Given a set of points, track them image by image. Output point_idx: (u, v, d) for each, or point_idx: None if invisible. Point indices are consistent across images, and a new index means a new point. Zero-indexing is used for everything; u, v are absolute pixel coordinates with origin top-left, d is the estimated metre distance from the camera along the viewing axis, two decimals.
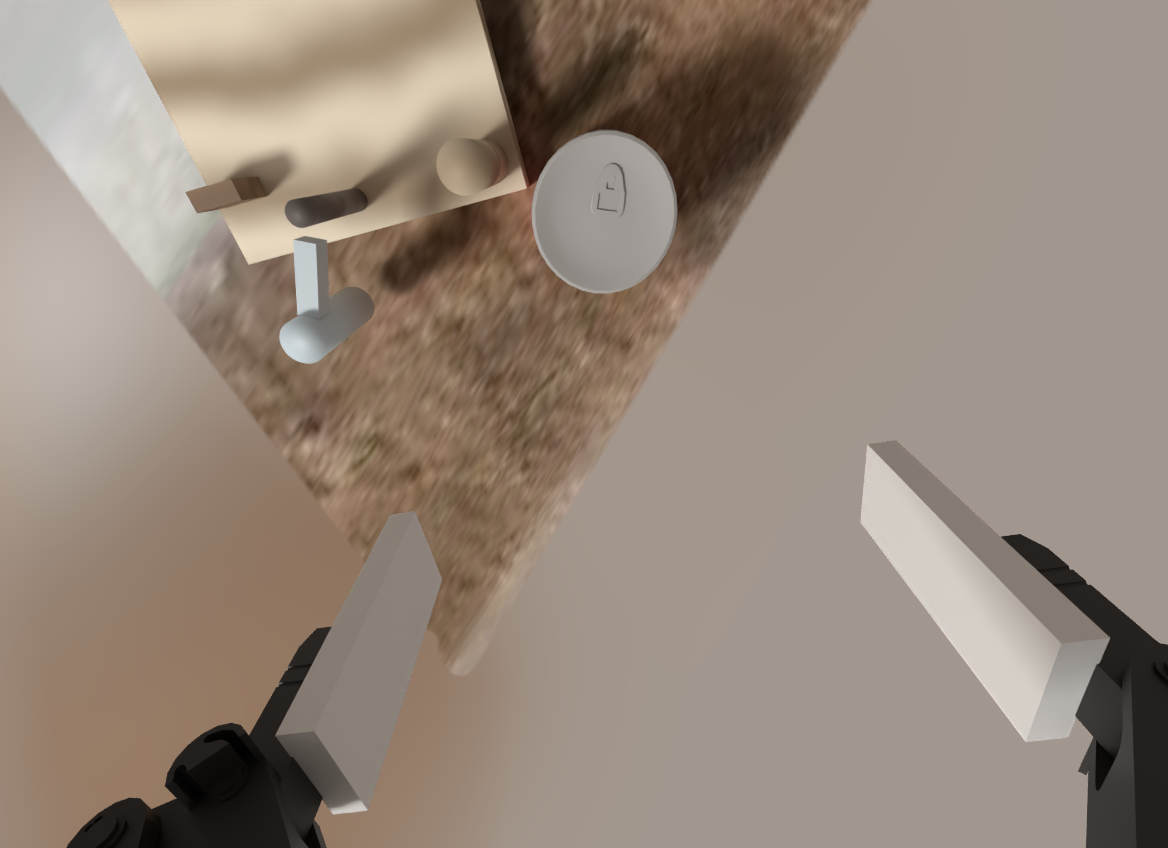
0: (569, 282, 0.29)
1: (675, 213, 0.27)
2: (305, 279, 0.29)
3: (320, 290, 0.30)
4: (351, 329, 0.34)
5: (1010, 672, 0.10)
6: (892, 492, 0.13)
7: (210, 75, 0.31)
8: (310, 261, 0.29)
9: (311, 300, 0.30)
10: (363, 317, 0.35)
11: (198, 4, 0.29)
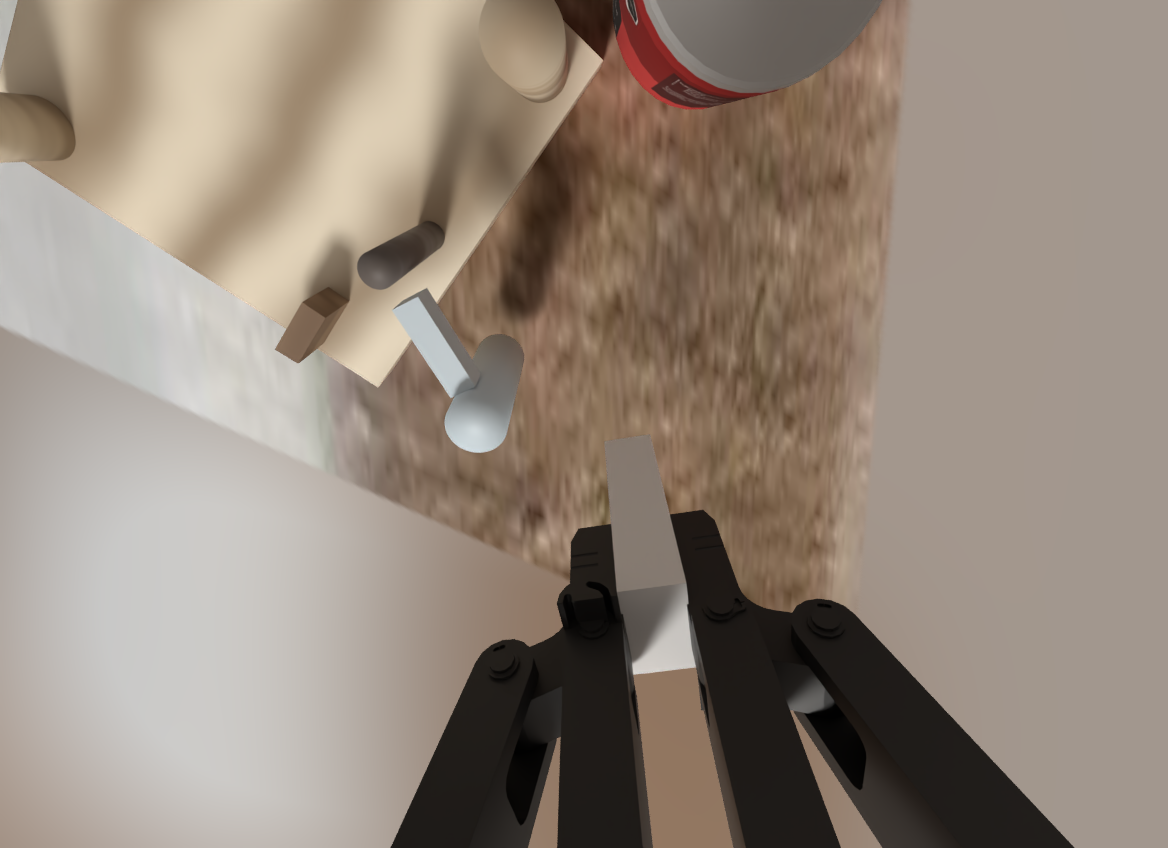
0: (769, 84, 0.16)
1: None
2: (433, 349, 0.21)
3: (456, 351, 0.21)
4: (514, 380, 0.25)
5: None
6: None
7: (223, 212, 0.25)
8: (425, 323, 0.21)
9: (454, 370, 0.21)
10: (517, 361, 0.27)
11: (166, 145, 0.24)
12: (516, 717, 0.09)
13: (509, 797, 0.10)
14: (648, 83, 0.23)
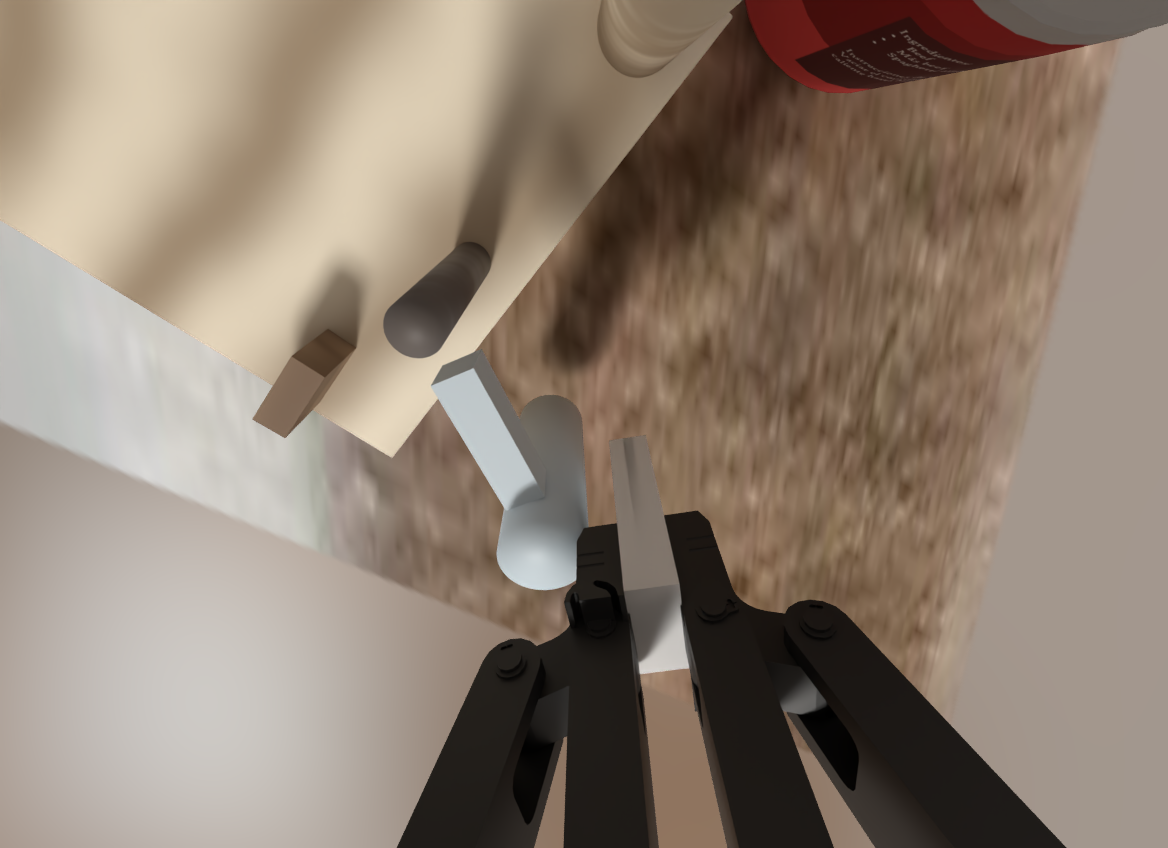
0: (1122, 26, 0.09)
1: None
2: (488, 444, 0.14)
3: (520, 445, 0.14)
4: (584, 471, 0.18)
5: None
6: None
7: (181, 227, 0.18)
8: (480, 406, 0.13)
9: (517, 473, 0.14)
10: (581, 437, 0.20)
11: (95, 130, 0.17)
12: (523, 716, 0.09)
13: (515, 796, 0.10)
14: (797, 51, 0.16)
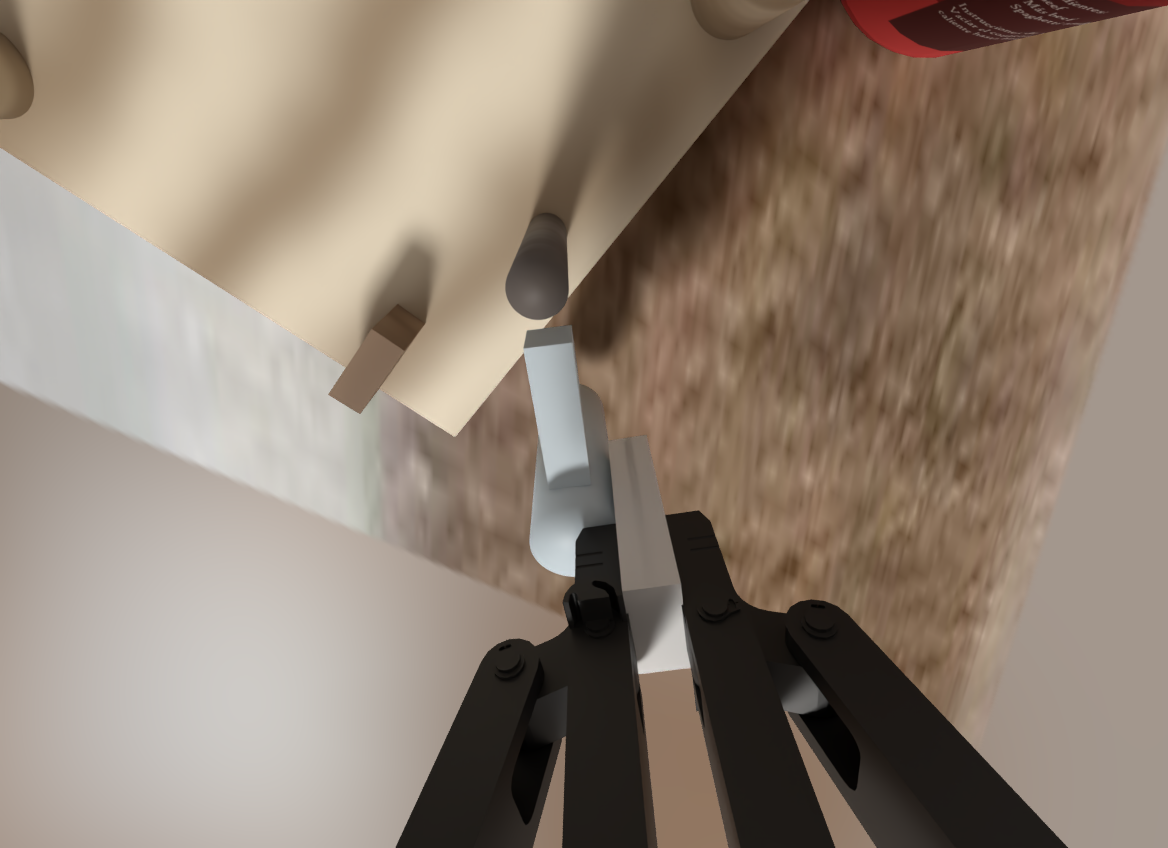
0: None
1: None
2: (557, 420, 0.14)
3: (584, 429, 0.14)
4: None
5: None
6: None
7: (253, 198, 0.18)
8: (564, 381, 0.13)
9: (573, 456, 0.14)
10: None
11: (171, 97, 0.16)
12: (522, 717, 0.09)
13: (514, 796, 0.10)
14: (894, 10, 0.16)
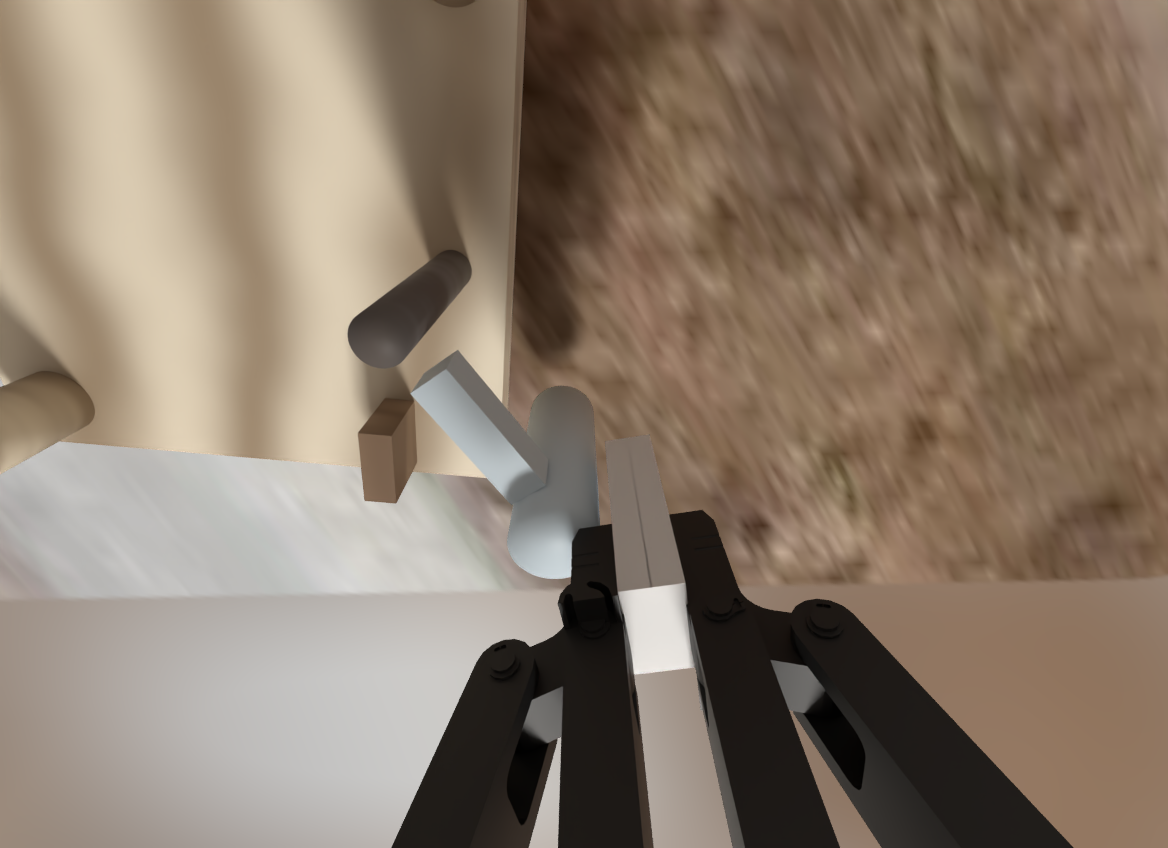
0: None
1: None
2: (478, 441, 0.14)
3: (512, 438, 0.14)
4: (593, 455, 0.18)
5: None
6: None
7: (244, 382, 0.21)
8: (461, 405, 0.13)
9: (513, 466, 0.14)
10: (589, 423, 0.19)
11: (156, 346, 0.20)
12: (517, 717, 0.09)
13: (510, 797, 0.10)
14: None
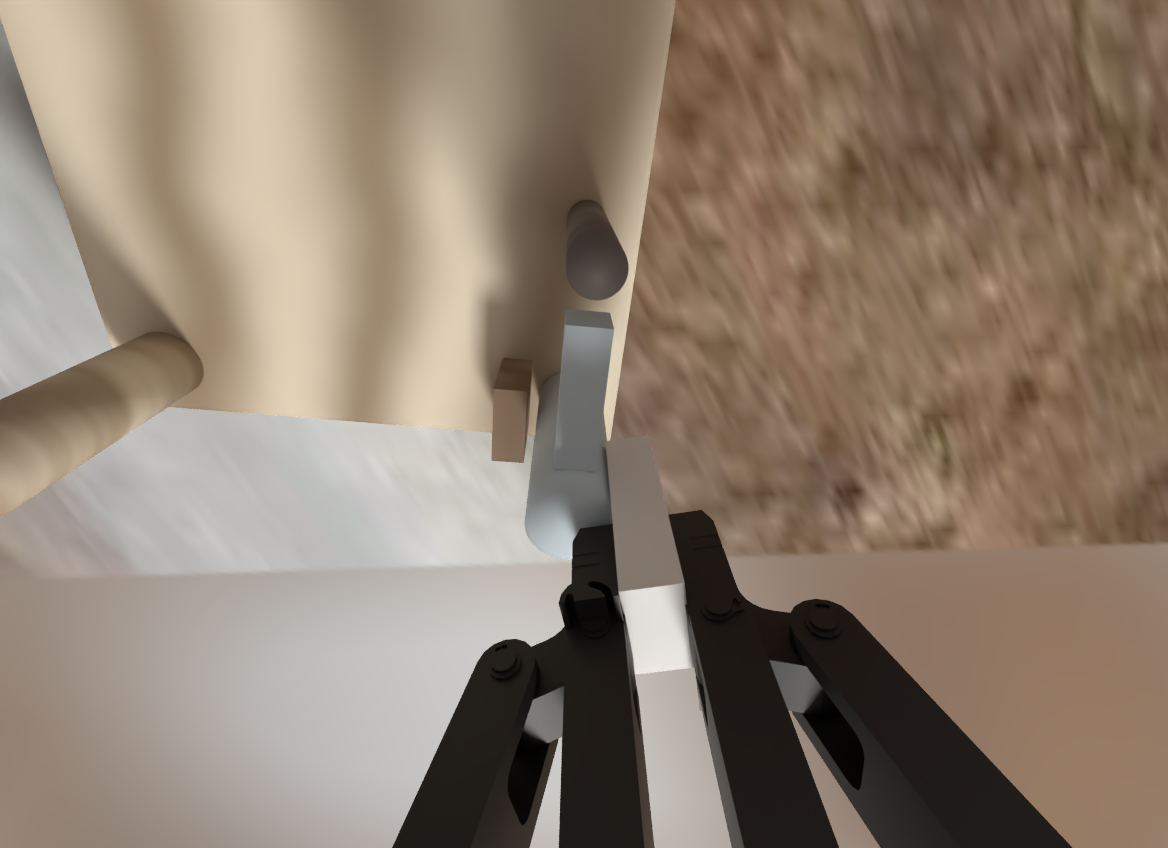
0: None
1: None
2: (580, 402, 0.14)
3: (601, 416, 0.14)
4: None
5: None
6: None
7: (361, 342, 0.21)
8: (596, 365, 0.13)
9: (586, 440, 0.14)
10: None
11: (273, 305, 0.20)
12: (518, 717, 0.09)
13: (511, 797, 0.10)
14: None
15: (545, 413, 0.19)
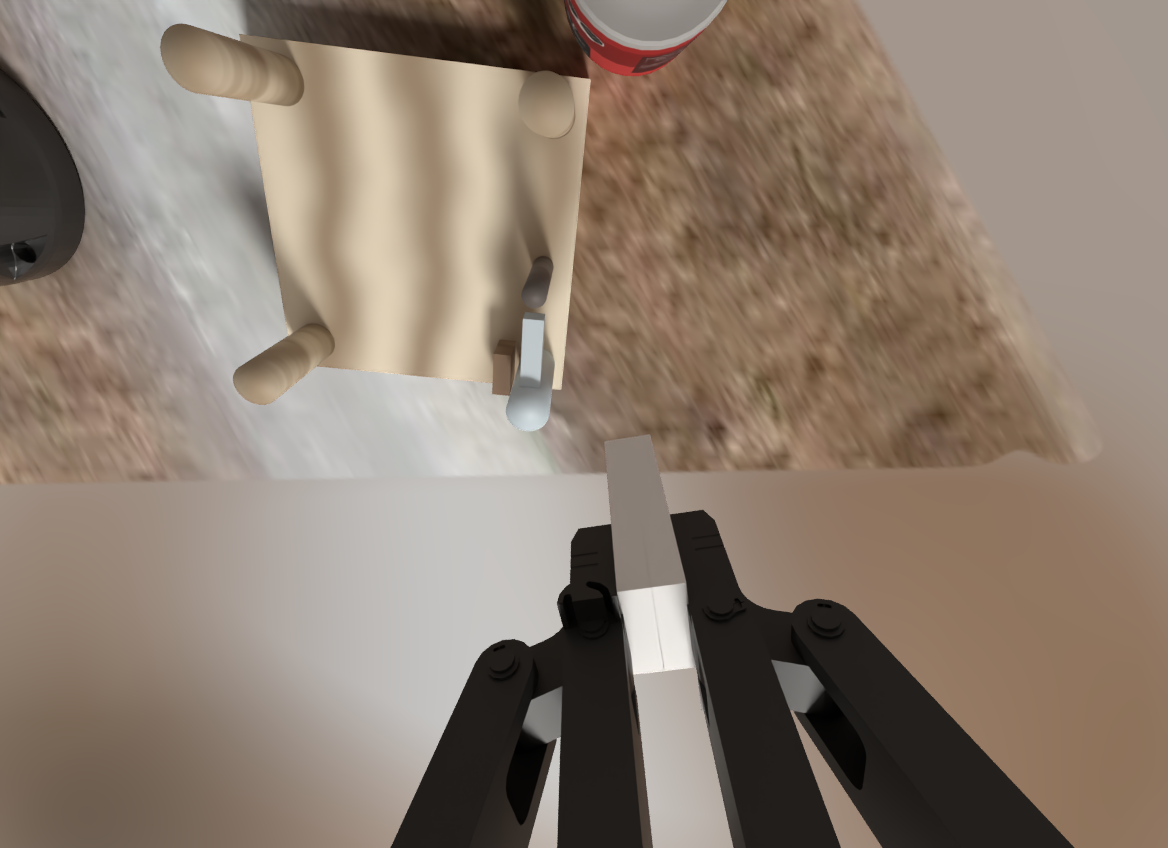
0: (706, 20, 0.23)
1: None
2: (530, 353, 0.31)
3: (541, 361, 0.31)
4: None
5: None
6: None
7: (422, 330, 0.38)
8: (537, 336, 0.30)
9: (534, 372, 0.31)
10: (553, 377, 0.37)
11: (376, 309, 0.37)
12: (516, 717, 0.09)
13: (509, 797, 0.10)
14: (627, 71, 0.30)
15: (520, 367, 0.36)
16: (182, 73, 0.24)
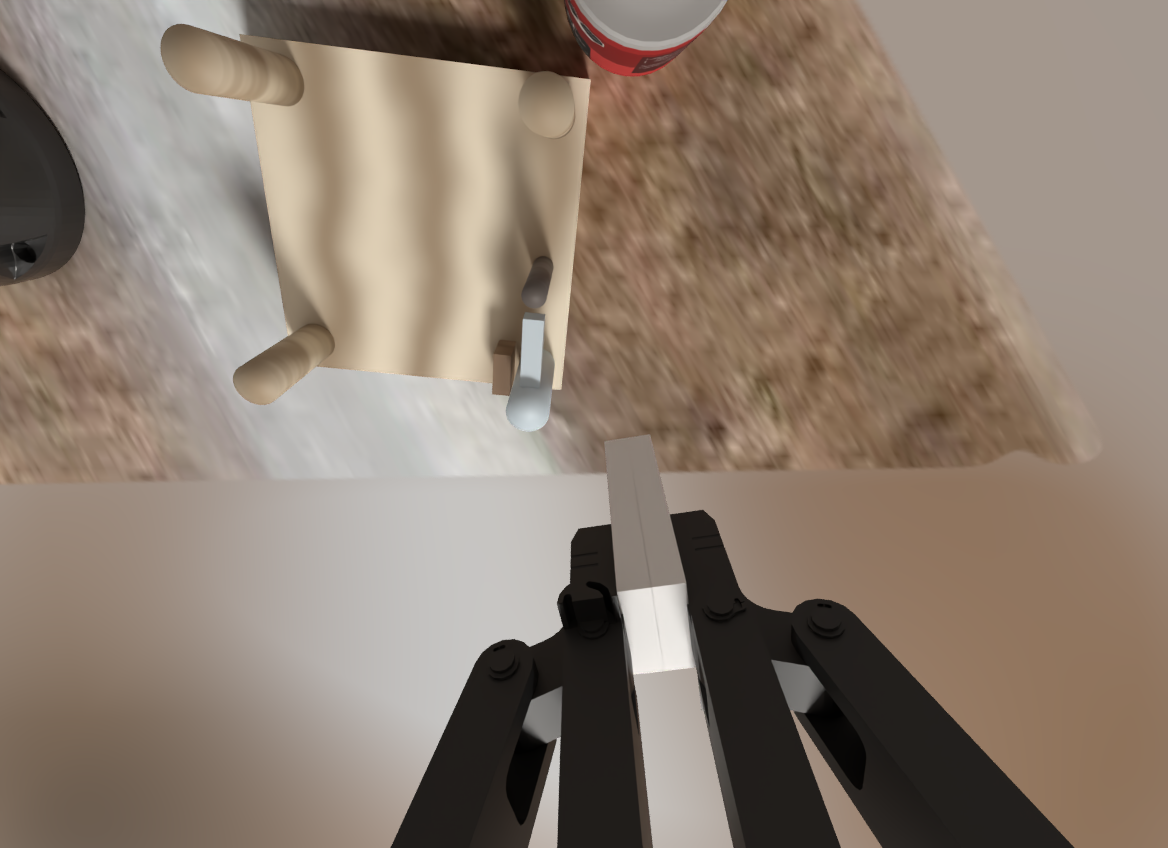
0: (706, 21, 0.23)
1: None
2: (530, 353, 0.31)
3: (541, 361, 0.31)
4: None
5: None
6: None
7: (422, 330, 0.38)
8: (537, 337, 0.30)
9: (534, 372, 0.31)
10: None
11: (376, 309, 0.37)
12: (516, 717, 0.09)
13: (509, 797, 0.10)
14: (627, 71, 0.30)
15: (520, 367, 0.36)
16: (182, 73, 0.24)
